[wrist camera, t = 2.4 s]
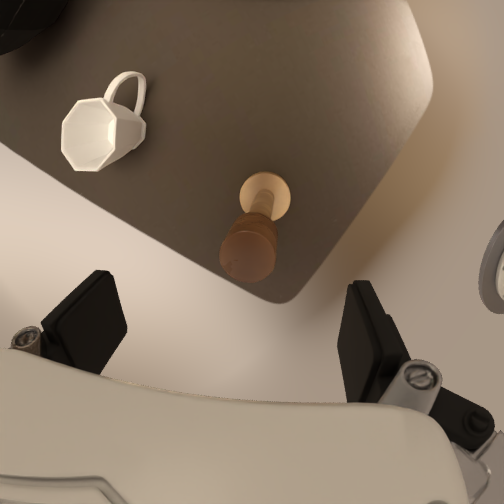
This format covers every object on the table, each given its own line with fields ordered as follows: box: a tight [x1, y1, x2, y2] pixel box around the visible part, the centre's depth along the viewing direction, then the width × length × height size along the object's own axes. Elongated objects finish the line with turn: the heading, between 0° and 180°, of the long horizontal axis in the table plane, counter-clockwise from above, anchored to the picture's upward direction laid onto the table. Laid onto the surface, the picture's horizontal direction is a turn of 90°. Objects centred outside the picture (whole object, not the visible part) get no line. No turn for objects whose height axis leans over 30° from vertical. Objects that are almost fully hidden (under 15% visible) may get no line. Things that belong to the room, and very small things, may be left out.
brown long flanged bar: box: [219, 171, 291, 283], centre depth 22 cm, size 5×5×15 cm
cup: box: [61, 71, 146, 171], centre depth 23 cm, size 7×10×8 cm
